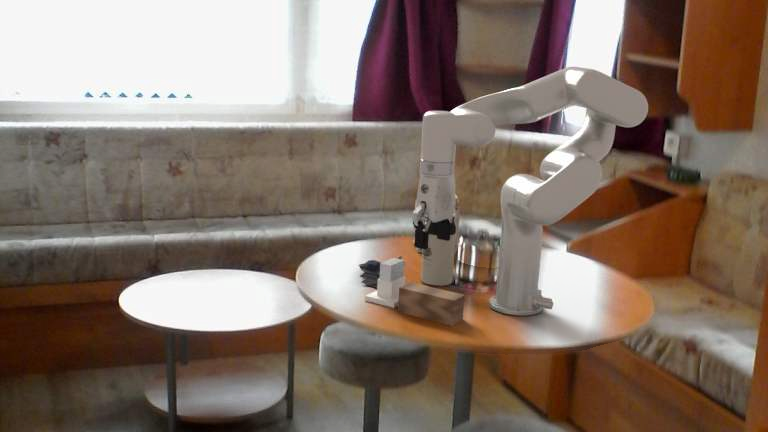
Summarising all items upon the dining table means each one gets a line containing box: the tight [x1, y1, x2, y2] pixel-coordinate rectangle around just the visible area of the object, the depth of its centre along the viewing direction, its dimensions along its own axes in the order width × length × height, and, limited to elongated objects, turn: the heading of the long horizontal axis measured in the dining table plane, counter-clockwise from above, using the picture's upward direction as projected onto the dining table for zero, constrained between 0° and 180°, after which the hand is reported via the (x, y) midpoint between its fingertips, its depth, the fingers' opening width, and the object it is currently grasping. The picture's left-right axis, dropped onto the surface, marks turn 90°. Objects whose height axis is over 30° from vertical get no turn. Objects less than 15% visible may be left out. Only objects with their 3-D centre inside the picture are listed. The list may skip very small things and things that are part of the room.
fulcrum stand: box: [364, 257, 406, 309], centre depth 206 cm, size 8×10×9 cm
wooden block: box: [397, 282, 465, 326], centre depth 197 cm, size 14×5×6 cm, turn 59°
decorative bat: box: [358, 255, 403, 288], centre depth 225 cm, size 30×4×10 cm
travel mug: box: [420, 214, 456, 287], centre depth 220 cm, size 8×8×18 cm
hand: (432, 243), depth 194 cm, fingers open, 9 cm apart
